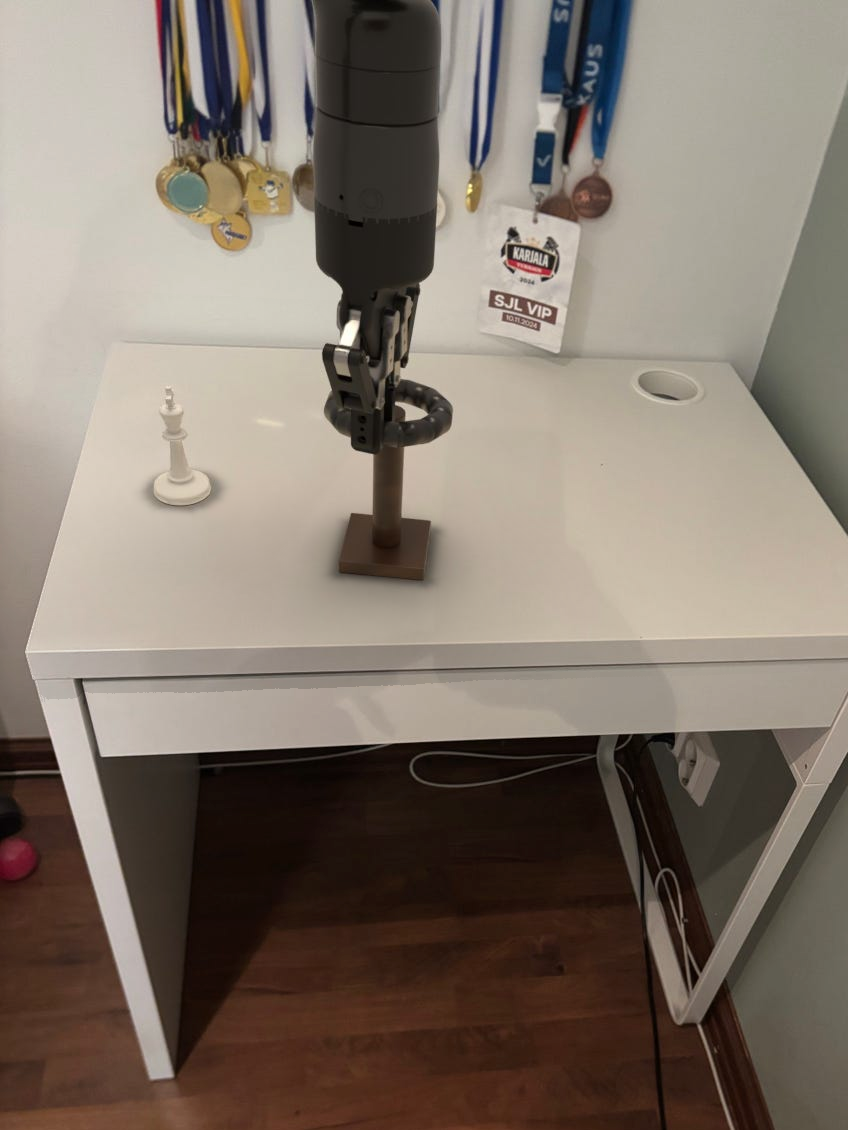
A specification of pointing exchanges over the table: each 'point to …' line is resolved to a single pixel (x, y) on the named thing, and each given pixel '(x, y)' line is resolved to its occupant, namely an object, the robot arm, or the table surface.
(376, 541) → the peg stand
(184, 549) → the table surface
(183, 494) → the chess piece
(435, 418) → the ring
